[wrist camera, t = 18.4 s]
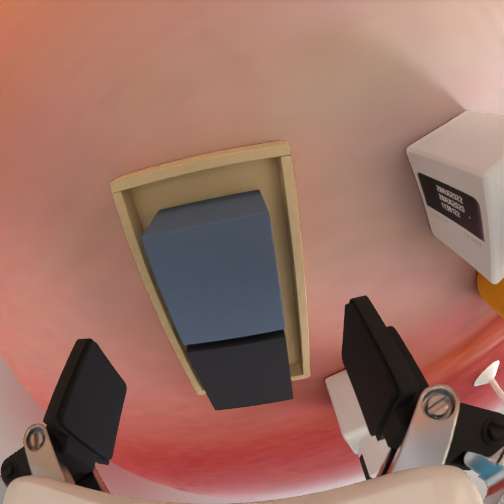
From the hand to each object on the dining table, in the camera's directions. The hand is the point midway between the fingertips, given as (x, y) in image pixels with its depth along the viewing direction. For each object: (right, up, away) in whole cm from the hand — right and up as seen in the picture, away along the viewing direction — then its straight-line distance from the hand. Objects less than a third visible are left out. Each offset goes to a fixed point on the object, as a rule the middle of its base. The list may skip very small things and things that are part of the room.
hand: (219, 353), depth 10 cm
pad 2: (0, -3, +11) cm, 12 cm away
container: (+16, +10, +7) cm, 20 cm away
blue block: (-1, +3, +8) cm, 9 cm away
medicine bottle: (+13, -10, +17) cm, 23 cm away
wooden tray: (0, +1, +10) cm, 10 cm away
